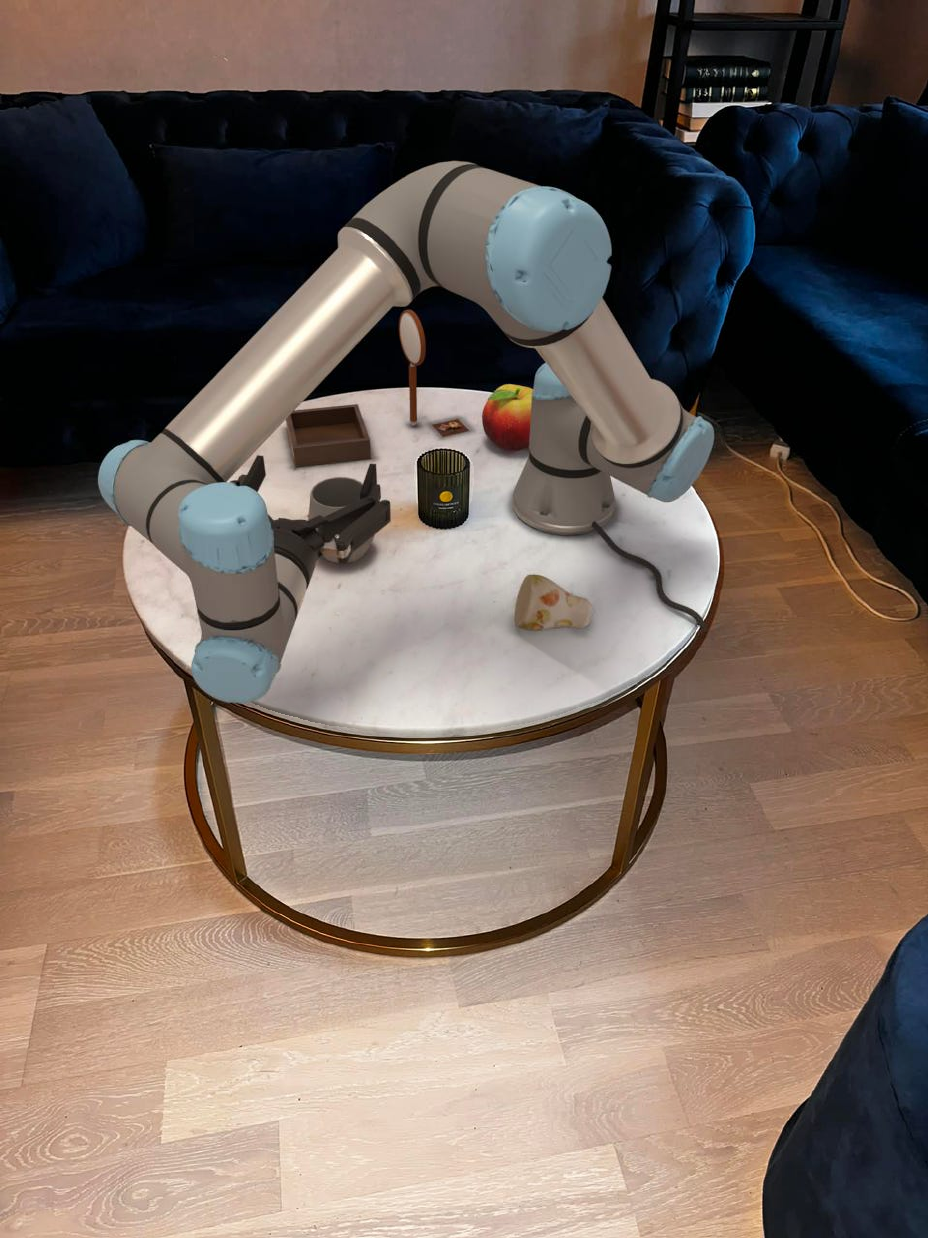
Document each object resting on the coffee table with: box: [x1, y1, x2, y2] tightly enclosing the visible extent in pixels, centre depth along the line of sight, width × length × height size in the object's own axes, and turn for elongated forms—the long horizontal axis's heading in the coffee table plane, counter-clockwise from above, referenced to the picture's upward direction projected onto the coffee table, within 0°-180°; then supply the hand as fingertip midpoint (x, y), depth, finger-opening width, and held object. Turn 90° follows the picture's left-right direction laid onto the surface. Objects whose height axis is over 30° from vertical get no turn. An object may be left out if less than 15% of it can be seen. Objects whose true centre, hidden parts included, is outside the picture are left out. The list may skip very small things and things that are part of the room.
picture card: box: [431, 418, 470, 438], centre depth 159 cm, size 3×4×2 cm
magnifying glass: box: [398, 309, 427, 427], centre depth 153 cm, size 9×2×20 cm, turn 27°
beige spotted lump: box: [514, 574, 594, 631], centre depth 120 cm, size 8×10×10 cm
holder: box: [285, 403, 372, 468], centre depth 154 cm, size 12×12×4 cm
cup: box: [307, 476, 376, 564], centre depth 129 cm, size 10×9×10 cm
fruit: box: [481, 383, 533, 452], centre depth 153 cm, size 11×11×10 cm
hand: (317, 469), depth 112 cm, fingers open, 13 cm apart
